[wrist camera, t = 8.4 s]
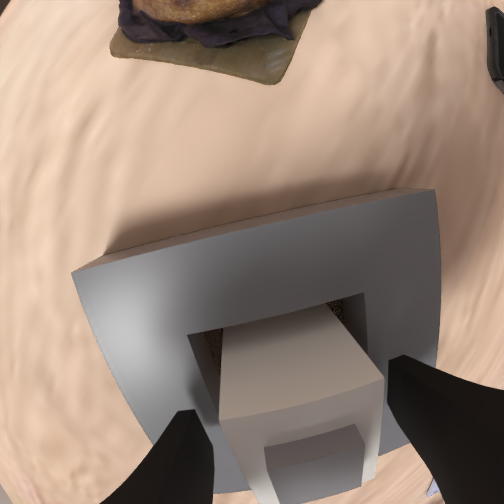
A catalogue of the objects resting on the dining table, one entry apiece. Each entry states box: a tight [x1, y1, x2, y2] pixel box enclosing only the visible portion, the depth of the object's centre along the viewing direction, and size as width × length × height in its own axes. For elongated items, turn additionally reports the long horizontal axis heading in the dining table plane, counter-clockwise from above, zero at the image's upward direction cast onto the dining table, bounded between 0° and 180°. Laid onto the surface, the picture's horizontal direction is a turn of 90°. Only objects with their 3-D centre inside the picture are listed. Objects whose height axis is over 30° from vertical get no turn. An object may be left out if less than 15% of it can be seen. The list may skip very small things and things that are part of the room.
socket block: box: [71, 188, 441, 494], centre depth 10 cm, size 12×12×2 cm
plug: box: [219, 303, 385, 504], centre depth 9 cm, size 4×5×6 cm
